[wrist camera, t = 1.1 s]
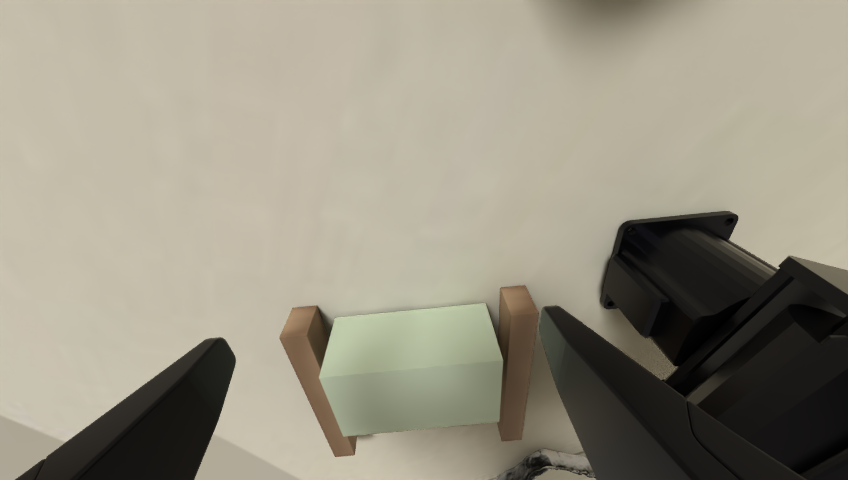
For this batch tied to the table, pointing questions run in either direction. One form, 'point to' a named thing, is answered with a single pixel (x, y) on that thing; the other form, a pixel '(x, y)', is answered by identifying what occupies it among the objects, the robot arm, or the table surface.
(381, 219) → the table surface
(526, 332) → the chute rails
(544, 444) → the table surface
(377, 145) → the table surface
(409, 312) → the block
